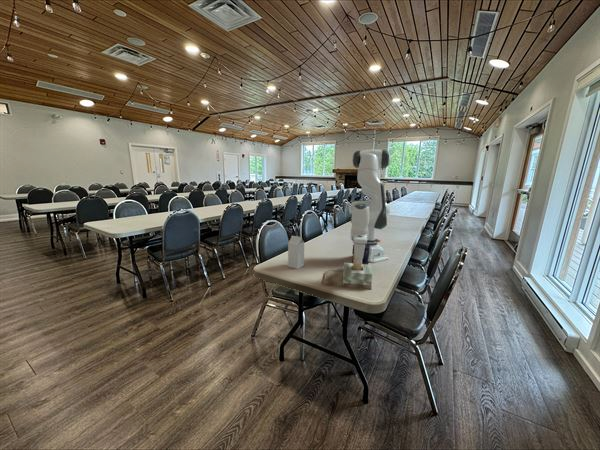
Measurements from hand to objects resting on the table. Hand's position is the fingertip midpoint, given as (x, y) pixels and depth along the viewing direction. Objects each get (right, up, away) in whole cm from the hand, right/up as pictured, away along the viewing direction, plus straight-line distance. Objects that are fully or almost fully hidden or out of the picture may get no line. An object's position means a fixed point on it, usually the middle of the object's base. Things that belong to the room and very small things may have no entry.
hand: (357, 261), depth 130 cm
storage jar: (+6, -8, +19) cm, 21 cm away
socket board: (-5, -11, +3) cm, 12 cm away
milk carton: (-33, -6, +23) cm, 40 cm away
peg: (0, -7, +1) cm, 7 cm away
